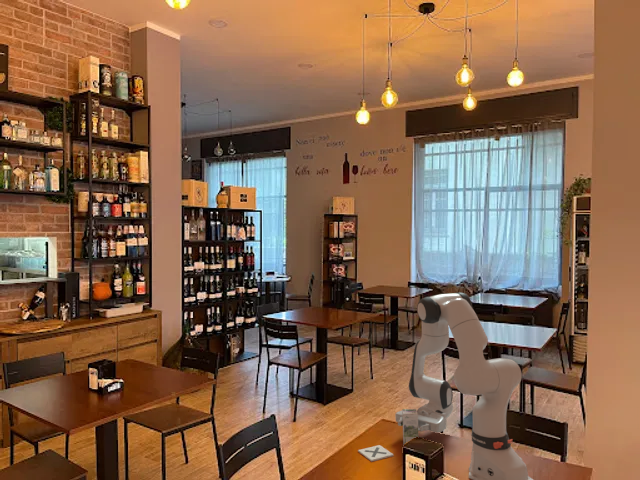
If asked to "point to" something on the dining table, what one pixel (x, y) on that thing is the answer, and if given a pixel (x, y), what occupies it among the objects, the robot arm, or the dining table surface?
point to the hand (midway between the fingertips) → (409, 426)
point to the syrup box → (409, 424)
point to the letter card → (375, 453)
